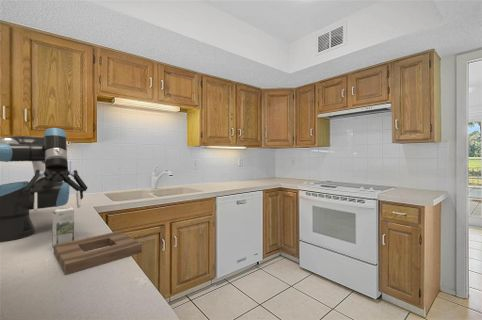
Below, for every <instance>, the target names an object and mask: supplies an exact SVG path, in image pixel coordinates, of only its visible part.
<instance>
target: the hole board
mask: <svg viewBox="0 0 482 320" xmlns="http://www.w3.org/2000/svg"><path fill="white" fill-rule="evenodd" d="M142 246H143V244H142V243H141V242H139V241H138V240H136V239H134V238H132V237H131V236H129V235H127V234H125V233H124V231H123V232H122V231H121V230H119V231H118V230H117V231H113V232H109V233H104V234H98V235H94V236H90V237H86V238H80V239H76V240H75V239H74V241H70V242H65V243H60V244H56V245H54V247H53V255H54V257H55V258H56V261H58V264H59V266H60V267H61V269H62V271H63V273H64V275H69V274H73V273H75V272H79V271H83V270H87V269H89V268H93V267H96V266H101V265H103V264H107V263H110V262H113V261H118V260H120V259H124V258H127V257H131V256H134V255H137V254H142V253H143V250H142V249H143V247H142Z"/></svg>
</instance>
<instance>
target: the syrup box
mask: <svg viewBox="0 0 482 320" xmlns="http://www.w3.org/2000/svg"><path fill="white" fill-rule="evenodd" d="M51 236H52V237H51V238H52V239H51V246H52V247H53V248H54V245H56V244H60V243H65V242H70V241H75V209H74V208H73V207H69V206H67V207H61V208H54V209H51Z"/></svg>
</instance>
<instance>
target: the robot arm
mask: <svg viewBox="0 0 482 320" xmlns="http://www.w3.org/2000/svg"><path fill="white" fill-rule="evenodd" d="M67 139H68V138H67V133H66V131H65V130H64V129H62V128H58V127H51V128H47V129H46V130H45V131H44V135H43V136H22V135H21V136H20V135H11V136H5V137H2V138H0V162H4V163H9V162H10V163H11V162H12V163H13V162H31V163H32V168H33V173H34V175H33V176H32V178H31V180H30V181H16V182H9V183H4V184H0V242H7V241H8V242H9V241H14V240H19V239H22V238H23V239H24V238H26V237H29V236H32V235H34V234H35V230H36V229H35V226H34V223H33V222H32V221H33V220H32V219H31V216H30V211H33V212H37V211H38V209H39V210H40V209H47V208H57V207H63V206H66V205H67V204H68V202H69V199H70V187H71V188H72V189H73V190H75V192H76V193H75V196H76V198H75V199H76V208H78V209H80V207H81V206H82V204H81V203H82V202H81V200H83V198H84V194H83V193H84V192H86V191H87V190H88V186H87V185H86V183H85V182H84V181H83V180H82V178H81V177H80V175H79V172H78V170H77V169H74V170H73V171H69V162H68V150H67V148H68V145H67ZM70 176H71V177H73V179H74V180H73V179H71V177H70Z"/></svg>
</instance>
